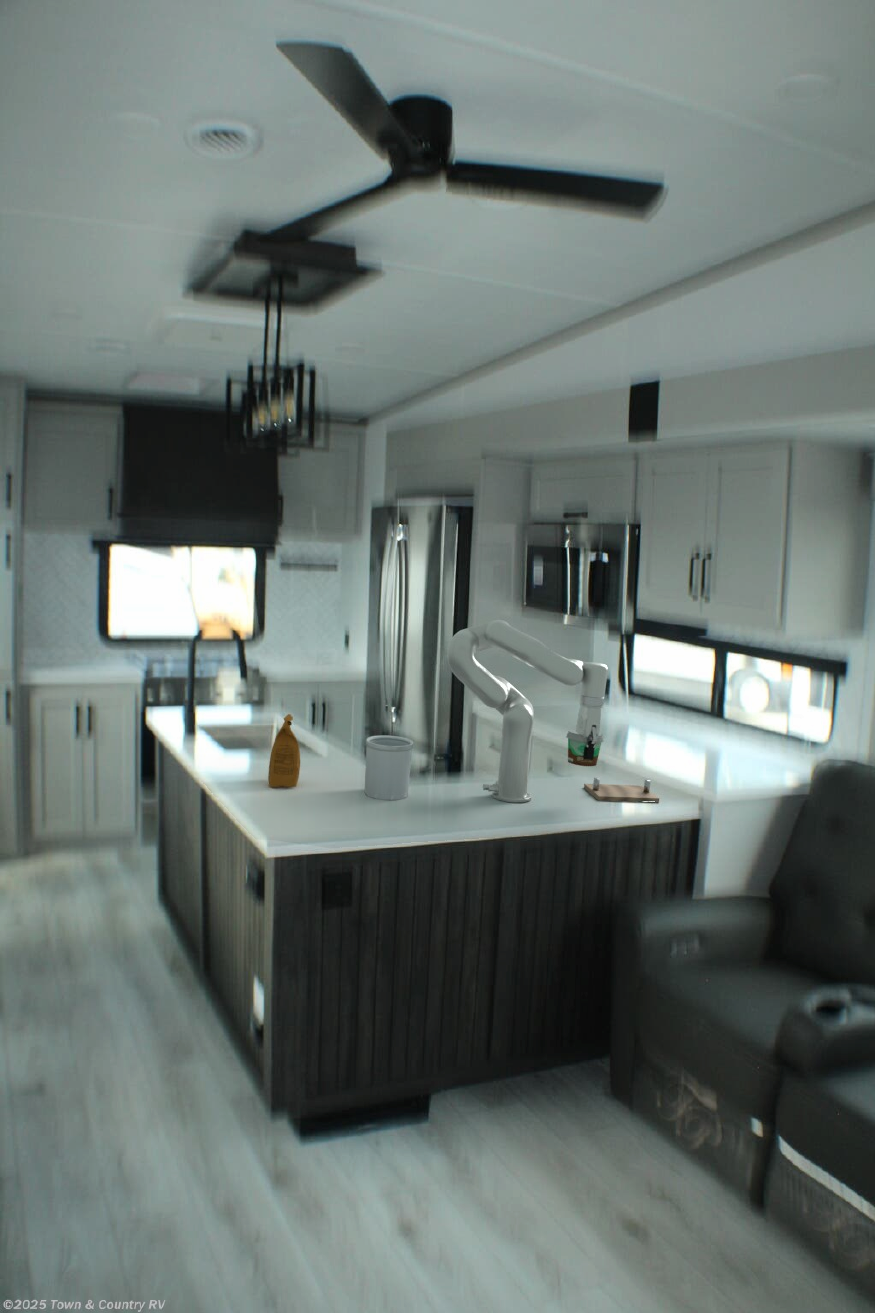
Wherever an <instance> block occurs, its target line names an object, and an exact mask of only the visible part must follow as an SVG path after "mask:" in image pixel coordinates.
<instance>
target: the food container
mask: <svg viewBox="0 0 875 1313" xmlns="http://www.w3.org/2000/svg"><path fill="white" fill-rule="evenodd" d="M565 737H566V738H567V763H569V764H572V765H576V766H582V767H597V764H598V760H599V755H600V751H601V746H602V743H603V742H605V738H604V734H603V733H601V735H599V736H598V738H597V741H596V743H595V749H594V757H593V760H586V759H583V755H584V747H586V742H587V738H583V737H582V735H580V734H578V733H574V732H571V731H568V732H567V734H566V736H565ZM588 737H592V736H588ZM590 740H591V739H589V741H590Z"/></svg>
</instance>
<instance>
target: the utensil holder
mask: <svg viewBox="0 0 875 1313" xmlns="http://www.w3.org/2000/svg"><path fill="white" fill-rule="evenodd" d="M365 744H366V751H365V752H366V753H365V757H366V758H365V768H364V769H365V770H364V772H365V774H364V794H365V795H366V796H368V797H369V798H372V799H376V800H383V801H398V800H403V799H406V798H407V797H408V795H409V786H410V778H411V777H410V776H411V765H412V753H413V748H414V745H415V744H414V741H413V740H412V739H410V738H407V737H403V736H399V735H398V736H397V735H389V734H387V735H386V734H385V735H371V736H369V737H367V738H366V740H365Z"/></svg>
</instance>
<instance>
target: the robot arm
mask: <svg viewBox="0 0 875 1313" xmlns="http://www.w3.org/2000/svg"><path fill="white" fill-rule="evenodd" d="M493 648H495V649H496V650H498V651H500V652H502V653H504V654H506V655H508V656H510V657H513V658H515V659H516V660H518V661H520V662H522V663H524V664H526V665H527V666H528V667H531V668H533V669H535V670H537V671H538V672H541V673H542V674H544V675H546V676H547V677H549V678H550V679H553V680H556V681H557V682H559V683H561V684H564V685H566V686H569V687H571V686H572V687H573V686H577V685H579V684H580V683H581V689H580V697H579V698H580V699H579V708H578V709H579V710H578V713H577V720H576V728H575V732H576V734H580V735H582V737H583V738H587V742H586V747H584V755H583V759H586V760H593V757H594V749H595V743H596V741H597V738H598V736H600V728H601V721H602V720H601V716H602V709H603V708H604V703H605V696H606V695H605V694H606V688H607V687H606V686H607V679H608V678H607V677H608V670H609V669H608V666H607V665H606V664H604V663H601V662H595V661H593V662H592V661H591V662H590V661H589V662H587V661H583V660H579V659H574V658H566V657H564V656H562V655H560V654H559V653H557V652H554V651H553V650H551V649H549V648H548V647H547V646H546V645H545V644H544V643H543V642H542V641H540V640H539V639H537V638H536V637H533V636H530V635H529V634H527V633H525V632H522V631H521V630H520V629H517V628H515V627H513V626H511V625H510V624H509V623H508V622H507V621H505V620H502V619H495V620H491V621H488V622H485V623H481V624H479V625H475V626H470V627H467V628H464V629H460V630H459V631H458V632H456V633H455V634H454V635H453V636H452V637H451V639H450V641H449V644H448V648H447V652H446V654H447V656H446V658H447V659H446V660H447V663H448V666H449V668H450V670H451V672H452V674H453V675H454V676H455V677H456V678H457V679H458V681H459V682H461V683H462V684H463V685H464V686H465V687H466V688H467V689H468V690H469V691H470V692H471V693H472V694H474V696H476V697H477V698H478V699H479V700H480V701H481V702H482V704H484V705H485V706H486V707H489V708H490V709H495V710H496V711H497V712H499V713H500V715H502V727H501V728H502V729H501V730H502V731H501V744H500V754H499V755H500V756H499V767H498V777H497V778H498V780H497V781H495V783H492V784H489V783H483V784H482V789H483V791H488V792H492V794H491V796H492V797H493V799H495V800H499V801H503V802H507V803H517V804H518V803H526V802H530V801H531V800H532V795H531V794H530V793H528V783H529V782H528V781H529V780H528V779H529V772H530V770H529V769H530V758H531V750H532V749H531V748H532V737H533V736H532V735H533V728H534V726H533V725H534V719H535V717H534V716H535V714H534V713H535V710H534V707H533V705H532V703H531V701H530V700H529V699H528V698H527V697H525V696H524V695H523V694H522V693H521V692H520V691H519V690H518V689H516V688H515V686H513V685H512V684H511V683H510V682H509V681H508V680H506V679H505V678H504V677H502V676H499V675H494V674H492V673H491V672H490V671H489V670H488V669H487V668H486V667H484V666H483V664H481V663H480V662H479V661H478V660H476V658H475V653H478V652H482V651H485V650H489V649H493ZM588 736H592V737H588ZM589 739H591V740H590V741H589Z"/></svg>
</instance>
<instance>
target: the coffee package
mask: <svg viewBox="0 0 875 1313" xmlns="http://www.w3.org/2000/svg"><path fill="white" fill-rule="evenodd" d="M293 719H294V718H293V716H292V715H291V713H290V714H289V713H288V714H287V715H286V716H285V717H283V720H284V722H283V724H282V725H281V728H280V730H278V732H277V734H276V736H275V739H274V742H273V746H272V747H271V752H270V758H269V763H268V764H269V765H268V775H267V776H268V777H267V781H268V786H269V787H270V788H272V789H273V788H293V787H297V785H298V781H299V778H300V771H301V752H300V746H299V742H298V739H297V737H296V735H295V734H294V732H293V731H292V729H291V726H292V721H293Z"/></svg>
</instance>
